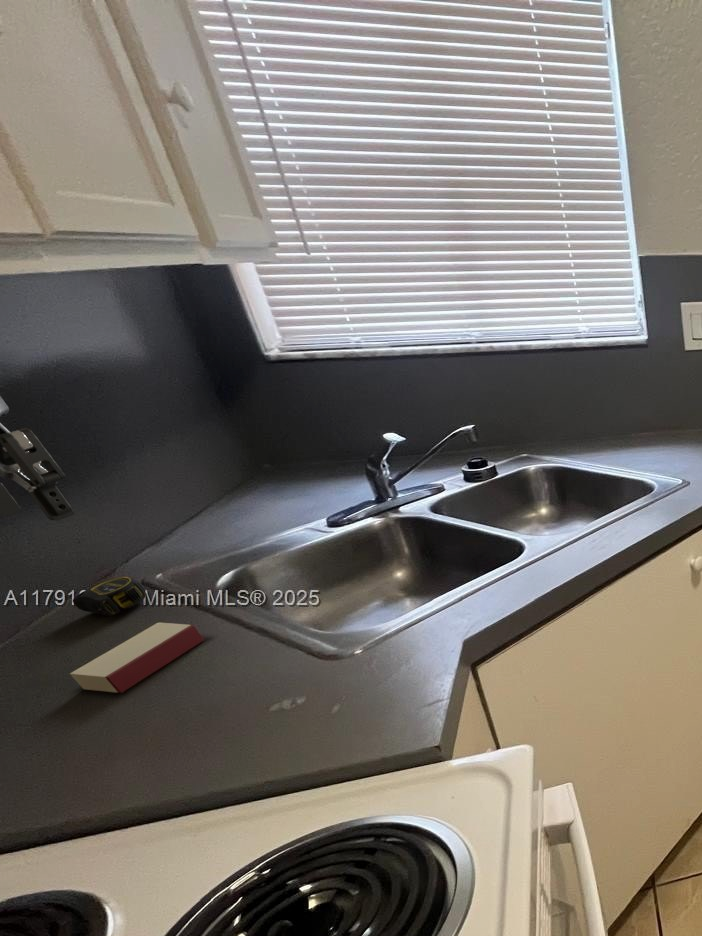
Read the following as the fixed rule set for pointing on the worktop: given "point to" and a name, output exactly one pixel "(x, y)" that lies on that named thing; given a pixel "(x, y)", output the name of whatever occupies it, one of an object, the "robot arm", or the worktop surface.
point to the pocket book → (137, 657)
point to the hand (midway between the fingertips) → (36, 516)
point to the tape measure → (111, 596)
